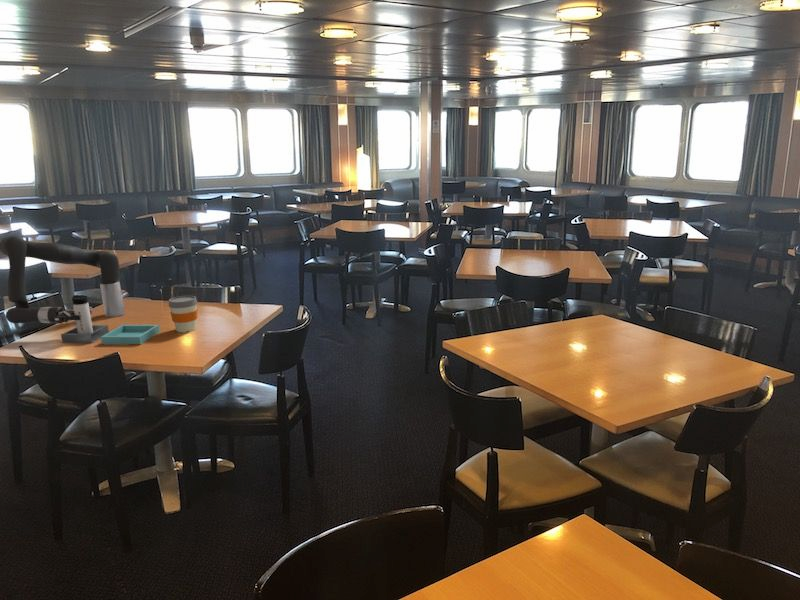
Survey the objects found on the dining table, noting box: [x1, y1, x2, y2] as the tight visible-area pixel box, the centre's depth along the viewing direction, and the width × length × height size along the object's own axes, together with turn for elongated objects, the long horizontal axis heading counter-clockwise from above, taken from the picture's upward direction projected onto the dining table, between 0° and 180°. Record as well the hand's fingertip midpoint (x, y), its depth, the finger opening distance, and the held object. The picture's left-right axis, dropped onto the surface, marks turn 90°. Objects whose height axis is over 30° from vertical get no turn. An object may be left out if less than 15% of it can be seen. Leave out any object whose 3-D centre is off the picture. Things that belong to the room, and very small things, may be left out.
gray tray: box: [60, 324, 110, 344], centre depth 283 cm, size 14×14×4 cm
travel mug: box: [71, 294, 93, 334], centre depth 281 cm, size 6×7×20 cm
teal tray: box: [100, 324, 161, 346], centre depth 281 cm, size 18×18×4 cm
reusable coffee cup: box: [168, 295, 198, 333], centre depth 290 cm, size 13×12×15 cm
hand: (85, 315), depth 280 cm, fingers open, 8 cm apart
